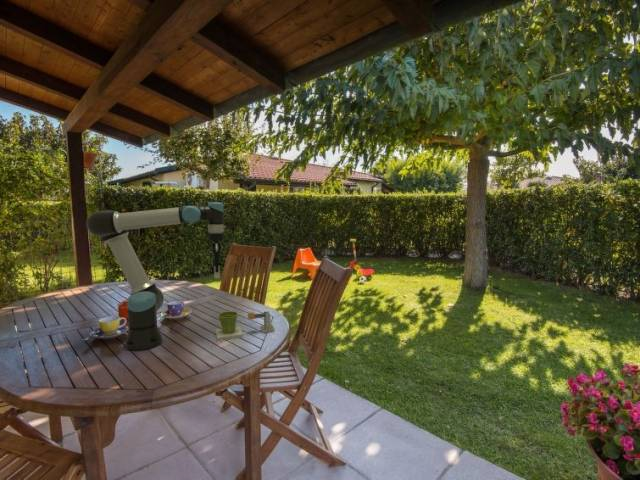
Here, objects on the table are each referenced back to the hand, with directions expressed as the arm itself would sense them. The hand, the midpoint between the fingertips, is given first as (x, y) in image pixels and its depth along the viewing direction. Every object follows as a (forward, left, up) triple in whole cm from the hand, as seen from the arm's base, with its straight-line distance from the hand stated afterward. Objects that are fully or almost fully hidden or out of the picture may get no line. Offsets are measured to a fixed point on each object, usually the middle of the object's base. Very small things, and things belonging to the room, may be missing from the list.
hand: (217, 278), depth 177 cm
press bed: (+4, -13, -26) cm, 29 cm away
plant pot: (+4, -11, -25) cm, 28 cm away
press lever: (+19, -13, -19) cm, 30 cm away
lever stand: (+23, -13, -26) cm, 37 cm away
